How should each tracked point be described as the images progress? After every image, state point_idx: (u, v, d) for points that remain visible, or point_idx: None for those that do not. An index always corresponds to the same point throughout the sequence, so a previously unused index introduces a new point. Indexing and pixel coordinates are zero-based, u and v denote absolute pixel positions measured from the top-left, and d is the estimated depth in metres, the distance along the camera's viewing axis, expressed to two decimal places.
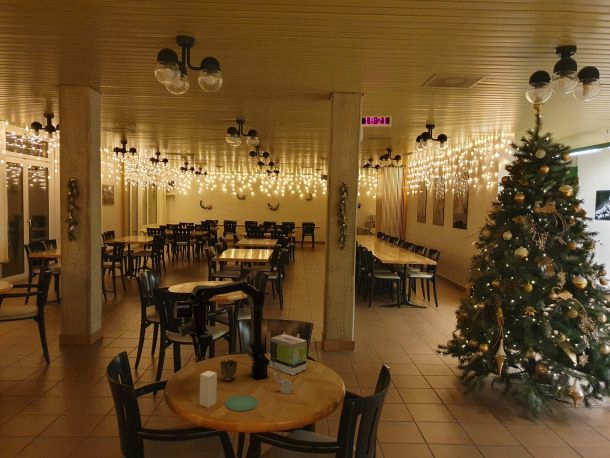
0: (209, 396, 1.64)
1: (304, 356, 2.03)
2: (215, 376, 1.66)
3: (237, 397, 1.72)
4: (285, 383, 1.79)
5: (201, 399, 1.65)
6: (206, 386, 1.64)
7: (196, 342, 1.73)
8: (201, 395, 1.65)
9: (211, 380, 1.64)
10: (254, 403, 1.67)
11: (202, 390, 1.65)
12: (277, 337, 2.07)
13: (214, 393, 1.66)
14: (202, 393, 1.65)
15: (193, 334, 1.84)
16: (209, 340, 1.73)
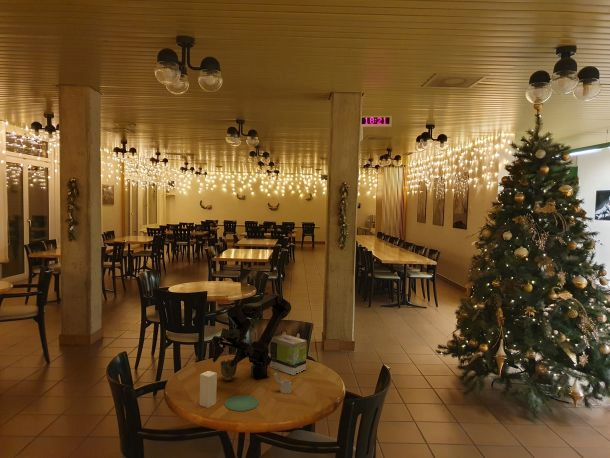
0: (209, 396, 1.64)
1: (304, 356, 2.03)
2: (215, 376, 1.66)
3: (237, 397, 1.72)
4: (285, 383, 1.79)
5: (201, 399, 1.65)
6: (206, 386, 1.64)
7: (239, 348, 1.71)
8: (201, 395, 1.65)
9: (211, 380, 1.64)
10: (254, 403, 1.67)
11: (202, 390, 1.65)
12: (277, 337, 2.07)
13: (214, 393, 1.66)
14: (202, 393, 1.65)
15: (219, 346, 1.78)
16: (251, 353, 1.73)
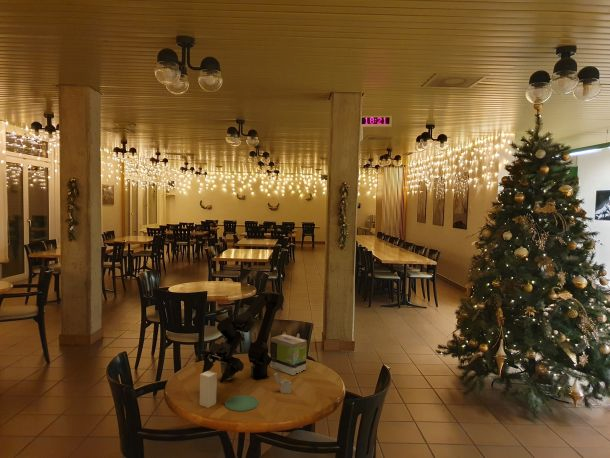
0: (209, 396, 1.64)
1: (304, 356, 2.03)
2: (215, 376, 1.66)
3: (237, 397, 1.72)
4: (285, 383, 1.79)
5: (201, 399, 1.65)
6: (206, 386, 1.64)
7: (229, 364, 1.66)
8: (201, 395, 1.65)
9: (211, 380, 1.64)
10: (254, 403, 1.67)
11: (202, 390, 1.65)
12: (277, 337, 2.07)
13: (214, 393, 1.66)
14: (202, 393, 1.65)
15: (208, 360, 1.73)
16: (241, 368, 1.68)
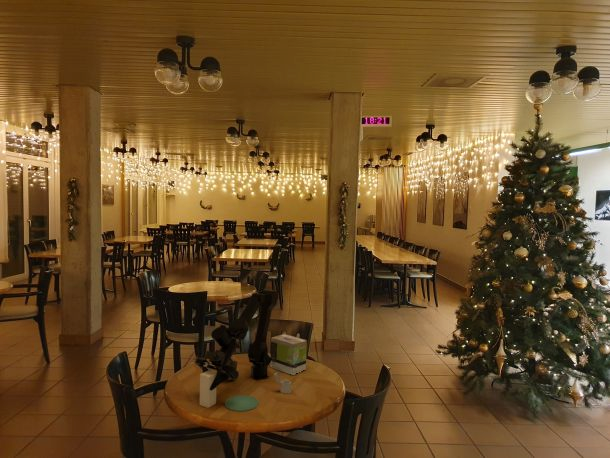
0: (209, 396, 1.64)
1: (304, 356, 2.03)
2: (215, 376, 1.66)
3: (237, 397, 1.72)
4: (285, 383, 1.79)
5: (201, 399, 1.65)
6: (206, 386, 1.64)
7: (219, 371, 1.65)
8: (201, 395, 1.65)
9: (211, 380, 1.64)
10: (254, 403, 1.67)
11: (202, 389, 1.65)
12: (277, 337, 2.07)
13: (214, 393, 1.66)
14: (202, 393, 1.65)
15: (207, 370, 1.70)
16: (236, 377, 1.66)
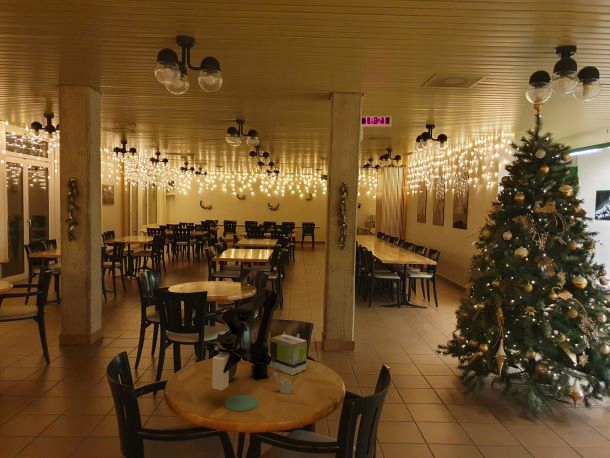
0: (222, 379, 1.64)
1: (304, 356, 2.03)
2: (228, 358, 1.66)
3: (237, 397, 1.72)
4: (285, 383, 1.79)
5: (214, 382, 1.65)
6: (220, 369, 1.63)
7: (232, 353, 1.65)
8: (214, 378, 1.65)
9: (224, 363, 1.64)
10: (254, 403, 1.67)
11: (215, 373, 1.64)
12: (277, 337, 2.07)
13: (227, 376, 1.66)
14: (215, 376, 1.64)
15: (218, 353, 1.69)
16: (249, 358, 1.67)
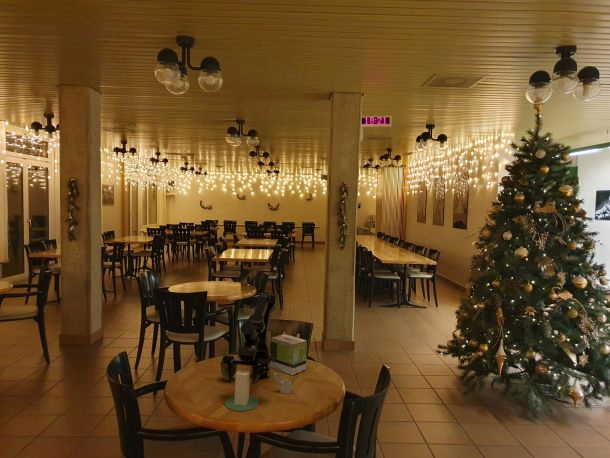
0: (246, 394, 1.66)
1: (304, 356, 2.03)
2: (249, 373, 1.69)
3: None
4: (285, 383, 1.79)
5: (237, 398, 1.66)
6: (243, 384, 1.65)
7: (259, 365, 1.68)
8: (237, 394, 1.66)
9: (247, 378, 1.67)
10: (254, 403, 1.67)
11: (238, 389, 1.66)
12: (277, 337, 2.07)
13: (248, 390, 1.69)
14: (238, 392, 1.66)
15: (232, 365, 1.71)
16: (269, 368, 1.71)
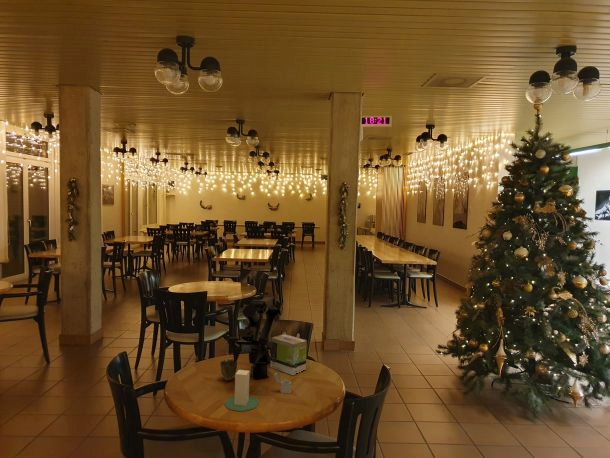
0: (246, 394, 1.66)
1: (304, 356, 2.03)
2: (249, 372, 1.69)
3: None
4: (285, 383, 1.79)
5: (237, 398, 1.66)
6: (243, 384, 1.65)
7: (259, 345, 1.75)
8: (236, 394, 1.66)
9: (247, 378, 1.67)
10: (254, 403, 1.67)
11: (238, 389, 1.66)
12: (277, 337, 2.07)
13: (248, 390, 1.69)
14: (238, 392, 1.66)
15: (236, 346, 1.80)
16: (270, 347, 1.77)
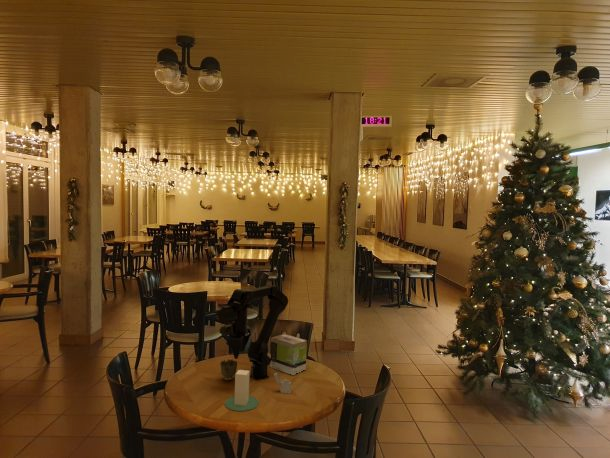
0: (246, 394, 1.66)
1: (304, 356, 2.03)
2: (249, 372, 1.69)
3: None
4: (285, 383, 1.79)
5: (237, 398, 1.66)
6: (243, 384, 1.65)
7: None
8: (237, 394, 1.66)
9: (247, 378, 1.67)
10: (254, 403, 1.67)
11: (238, 389, 1.66)
12: (277, 337, 2.07)
13: (248, 390, 1.69)
14: (238, 392, 1.66)
15: (241, 336, 1.90)
16: (236, 344, 1.75)
